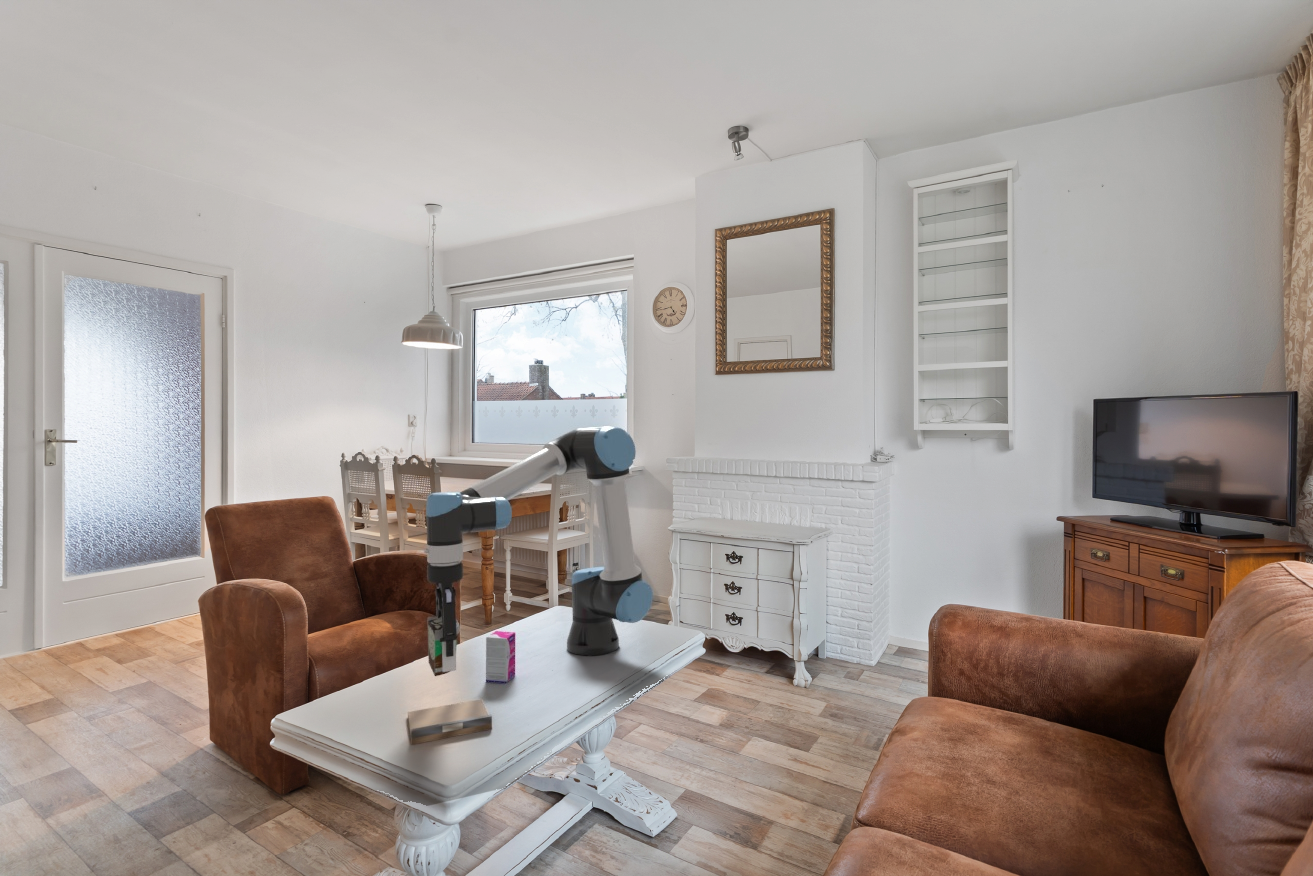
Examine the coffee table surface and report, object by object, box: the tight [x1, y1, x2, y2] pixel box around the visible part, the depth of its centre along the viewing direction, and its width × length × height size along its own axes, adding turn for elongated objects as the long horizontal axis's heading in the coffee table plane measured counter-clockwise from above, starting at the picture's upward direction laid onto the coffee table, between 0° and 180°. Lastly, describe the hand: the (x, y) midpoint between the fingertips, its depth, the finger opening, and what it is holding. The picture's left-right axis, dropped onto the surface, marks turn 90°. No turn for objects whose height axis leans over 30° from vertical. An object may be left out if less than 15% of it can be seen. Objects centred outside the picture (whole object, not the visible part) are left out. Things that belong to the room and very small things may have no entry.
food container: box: [426, 616, 461, 677], centre depth 143 cm, size 12×6×10 cm, turn 27°
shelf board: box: [407, 698, 493, 745], centre depth 140 cm, size 16×14×3 cm
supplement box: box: [485, 630, 516, 684], centre depth 165 cm, size 6×6×12 cm
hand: (446, 662), depth 142 cm, fingers closed on food container, 11 cm apart
